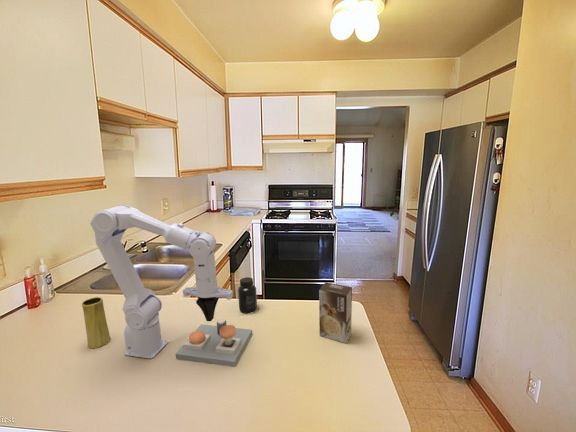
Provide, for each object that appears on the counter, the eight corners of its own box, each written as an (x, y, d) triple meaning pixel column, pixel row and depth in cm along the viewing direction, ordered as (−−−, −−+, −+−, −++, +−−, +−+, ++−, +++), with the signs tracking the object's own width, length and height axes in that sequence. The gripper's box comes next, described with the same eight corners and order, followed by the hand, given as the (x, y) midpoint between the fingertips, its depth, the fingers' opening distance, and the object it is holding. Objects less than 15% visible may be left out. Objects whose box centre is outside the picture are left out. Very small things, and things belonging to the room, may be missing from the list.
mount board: (175, 358, 83) (174, 349, 82) (201, 328, 97) (200, 320, 96) (234, 366, 79) (234, 357, 78) (252, 334, 93) (251, 326, 93)
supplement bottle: (258, 305, 111) (257, 276, 109) (255, 314, 105) (253, 284, 102) (241, 304, 112) (239, 275, 110) (236, 313, 105) (235, 283, 103)
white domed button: (215, 334, 91) (214, 323, 90) (219, 329, 94) (219, 318, 93) (224, 335, 90) (223, 324, 89) (228, 330, 93) (227, 318, 92)
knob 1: (187, 352, 85) (185, 339, 84) (195, 342, 90) (193, 329, 89) (201, 354, 84) (200, 340, 83) (208, 344, 89) (207, 331, 88)
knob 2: (217, 347, 83) (216, 333, 82) (224, 337, 87) (223, 324, 86) (232, 348, 82) (231, 335, 81) (238, 339, 86) (237, 325, 85)
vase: (99, 349, 87) (92, 307, 84) (82, 347, 88) (74, 305, 85) (115, 337, 93) (108, 297, 90) (99, 335, 94) (92, 295, 91)
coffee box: (352, 332, 93) (353, 286, 90) (346, 344, 87) (347, 295, 84) (325, 325, 97) (325, 281, 94) (318, 336, 92) (318, 289, 88)
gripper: (235, 271, 84) (238, 314, 86) (190, 269, 86) (194, 310, 89) (225, 282, 77) (229, 327, 80) (176, 279, 80) (181, 323, 83)
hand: (210, 319), depth 84 cm, fingers closed
